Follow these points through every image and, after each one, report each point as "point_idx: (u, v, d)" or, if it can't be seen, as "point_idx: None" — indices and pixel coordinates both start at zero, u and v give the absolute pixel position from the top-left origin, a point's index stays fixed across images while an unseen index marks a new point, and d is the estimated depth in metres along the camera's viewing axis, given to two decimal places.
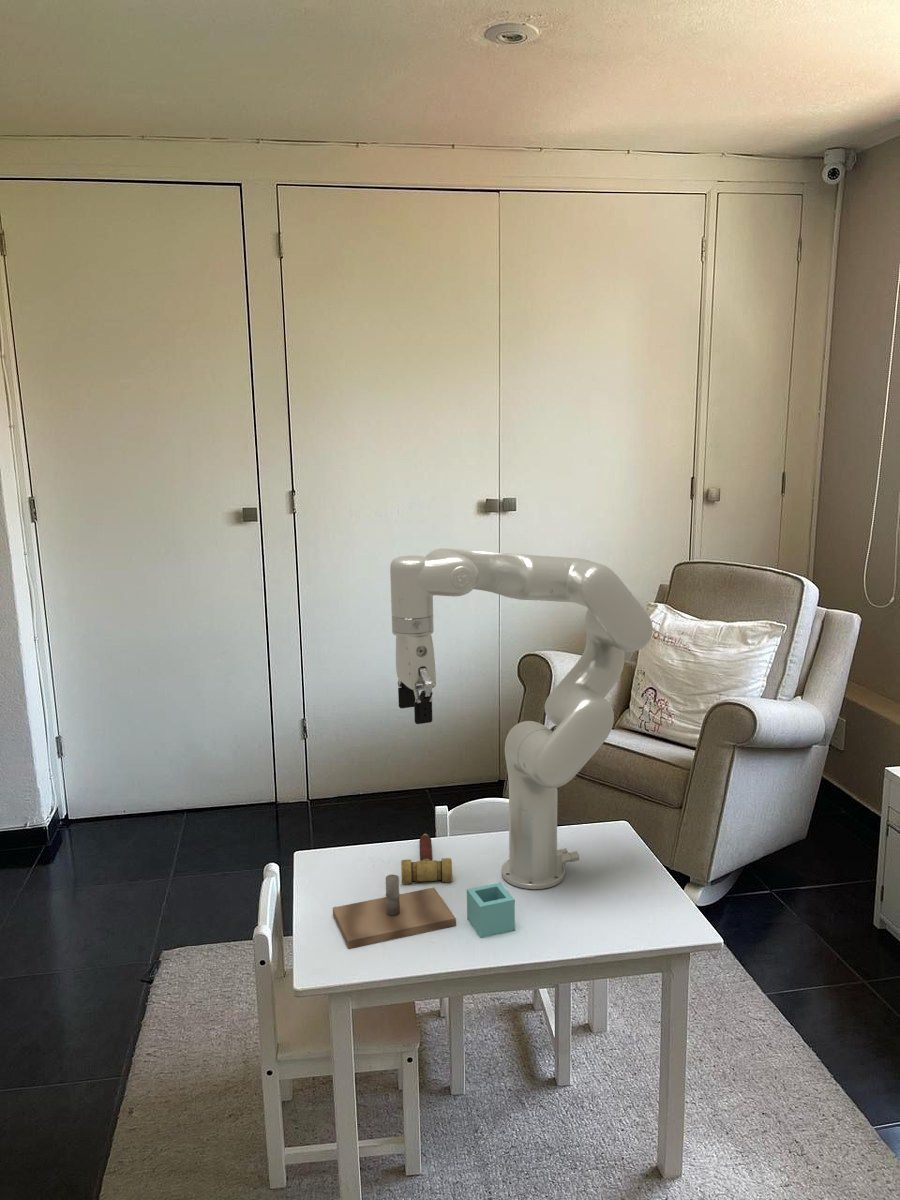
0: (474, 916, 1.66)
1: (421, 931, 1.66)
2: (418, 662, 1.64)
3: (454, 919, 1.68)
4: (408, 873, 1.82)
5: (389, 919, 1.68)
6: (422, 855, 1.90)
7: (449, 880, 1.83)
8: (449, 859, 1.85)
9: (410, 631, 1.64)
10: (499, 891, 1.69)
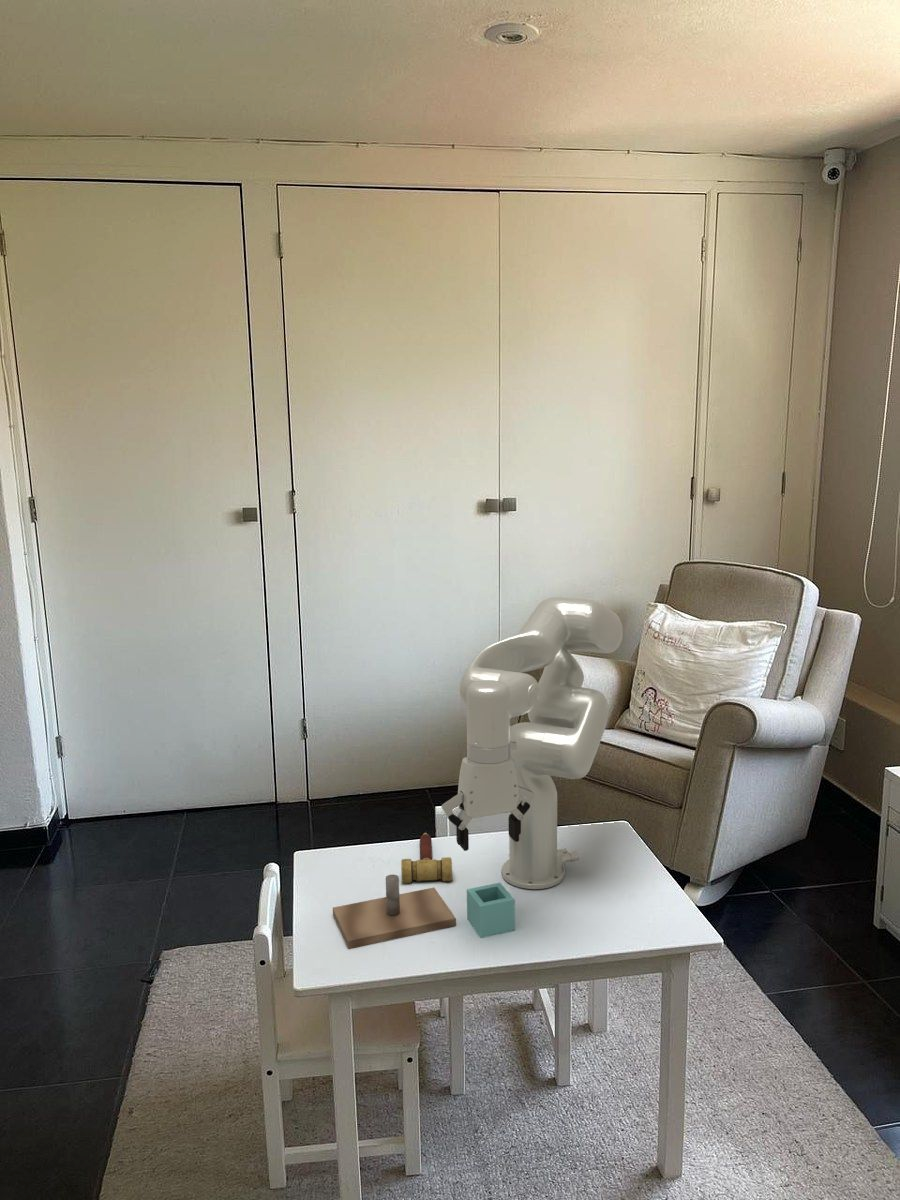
0: (474, 916, 1.66)
1: (421, 931, 1.66)
2: None
3: (454, 919, 1.68)
4: (408, 872, 1.83)
5: (389, 919, 1.68)
6: (422, 854, 1.90)
7: (449, 879, 1.84)
8: (449, 858, 1.85)
9: (510, 754, 1.61)
10: (499, 891, 1.69)
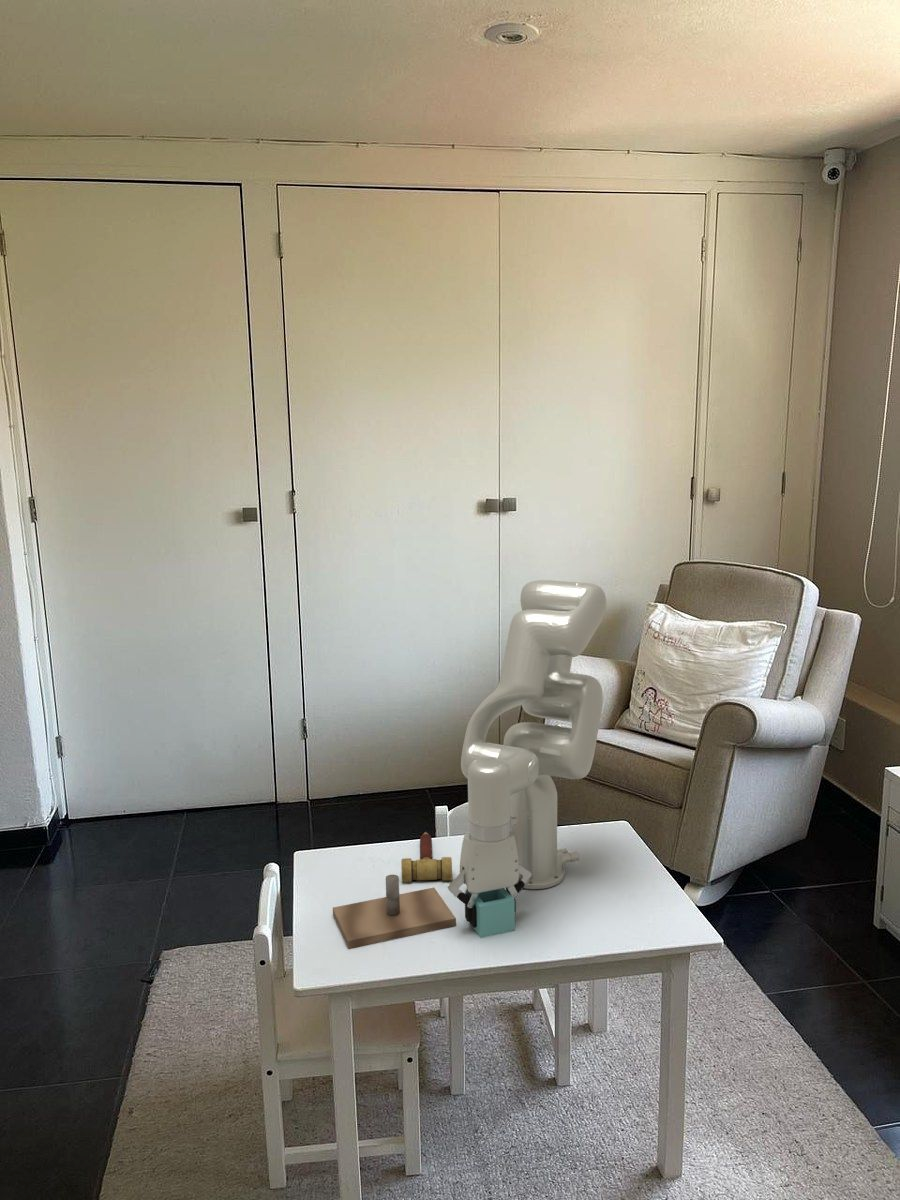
0: None
1: (421, 931, 1.66)
2: None
3: (454, 919, 1.68)
4: (408, 871, 1.83)
5: (389, 919, 1.68)
6: (422, 854, 1.90)
7: (449, 879, 1.84)
8: (449, 858, 1.85)
9: (510, 830, 1.64)
10: (499, 891, 1.69)
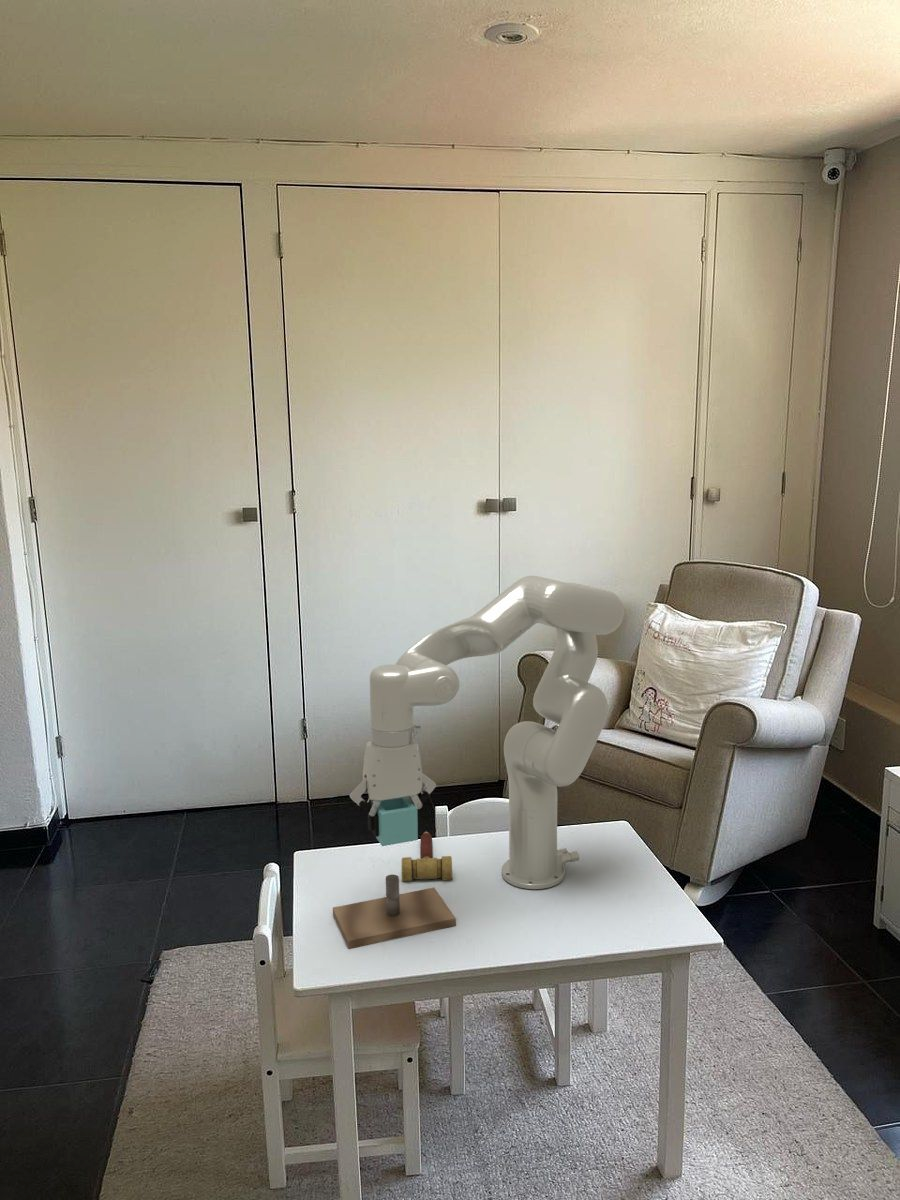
0: None
1: (421, 931, 1.66)
2: None
3: (454, 919, 1.68)
4: (408, 870, 1.83)
5: (389, 919, 1.68)
6: (423, 853, 1.91)
7: (449, 878, 1.84)
8: (449, 857, 1.85)
9: (413, 737, 1.63)
10: (403, 802, 1.67)
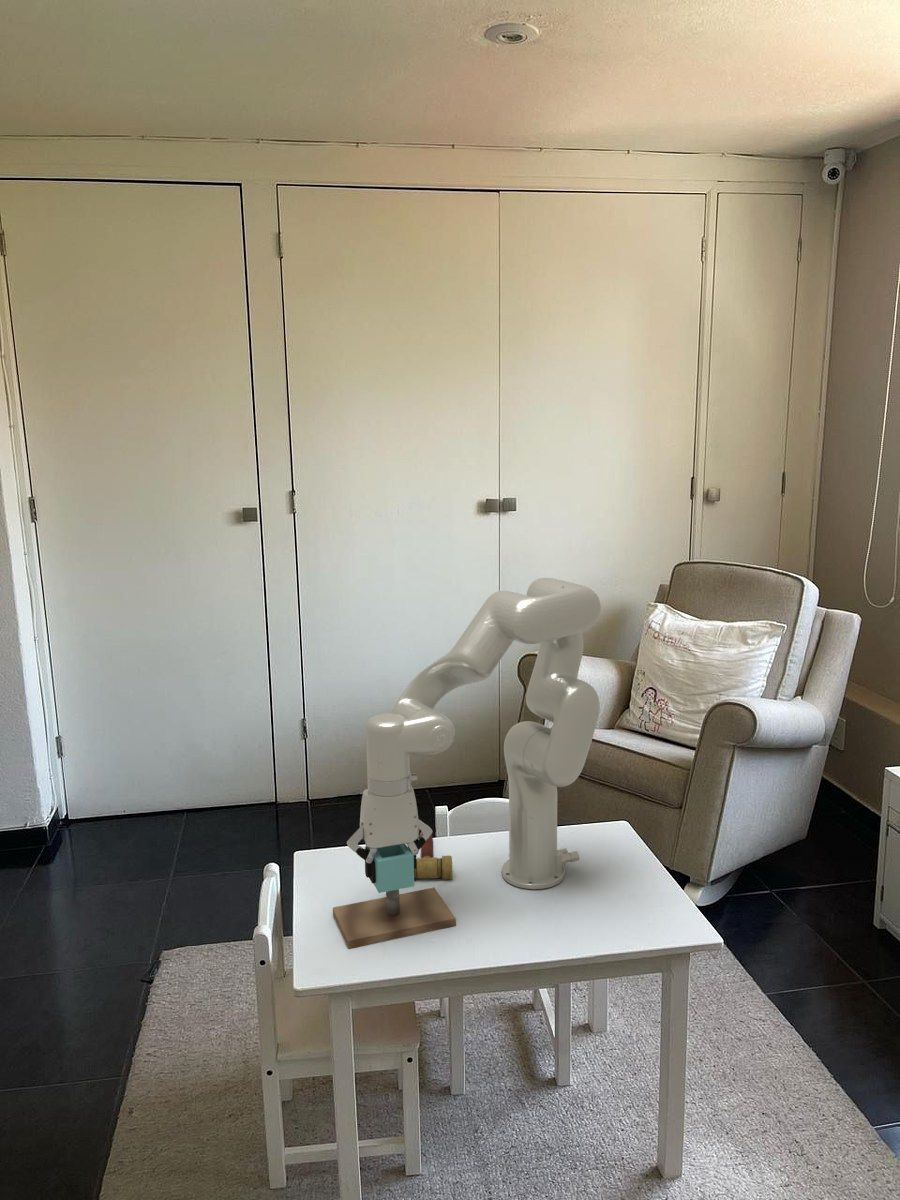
0: None
1: (421, 931, 1.66)
2: None
3: (454, 919, 1.68)
4: None
5: (389, 919, 1.68)
6: (423, 852, 1.91)
7: (449, 877, 1.84)
8: (449, 856, 1.86)
9: (409, 786, 1.65)
10: (400, 848, 1.69)
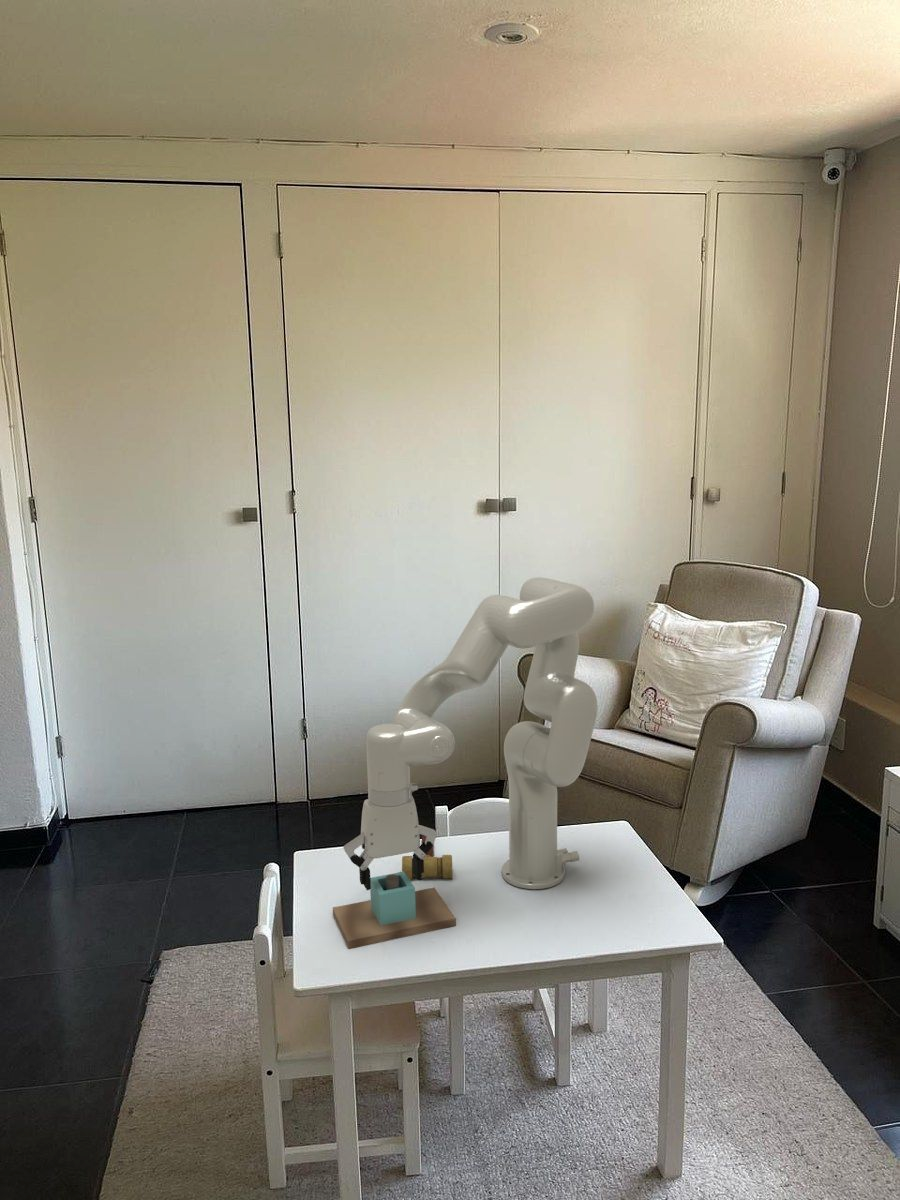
0: (375, 904, 1.68)
1: (421, 931, 1.66)
2: None
3: (454, 919, 1.68)
4: (409, 869, 1.84)
5: None
6: None
7: (449, 876, 1.85)
8: (449, 856, 1.86)
9: (410, 795, 1.65)
10: (402, 880, 1.71)
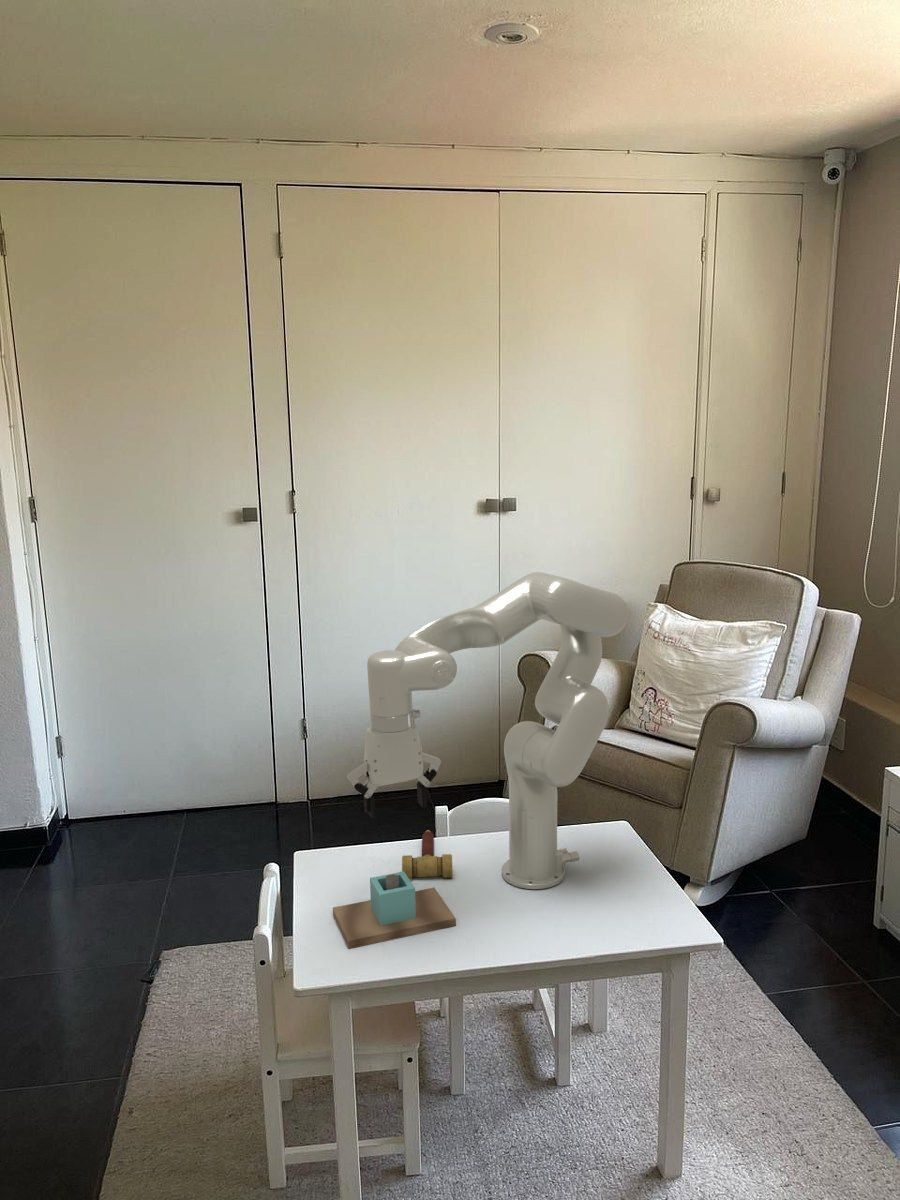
0: (375, 904, 1.68)
1: (421, 931, 1.66)
2: None
3: (454, 919, 1.68)
4: (409, 868, 1.84)
5: None
6: (423, 851, 1.92)
7: (449, 876, 1.85)
8: (449, 855, 1.86)
9: (413, 722, 1.64)
10: (402, 880, 1.71)
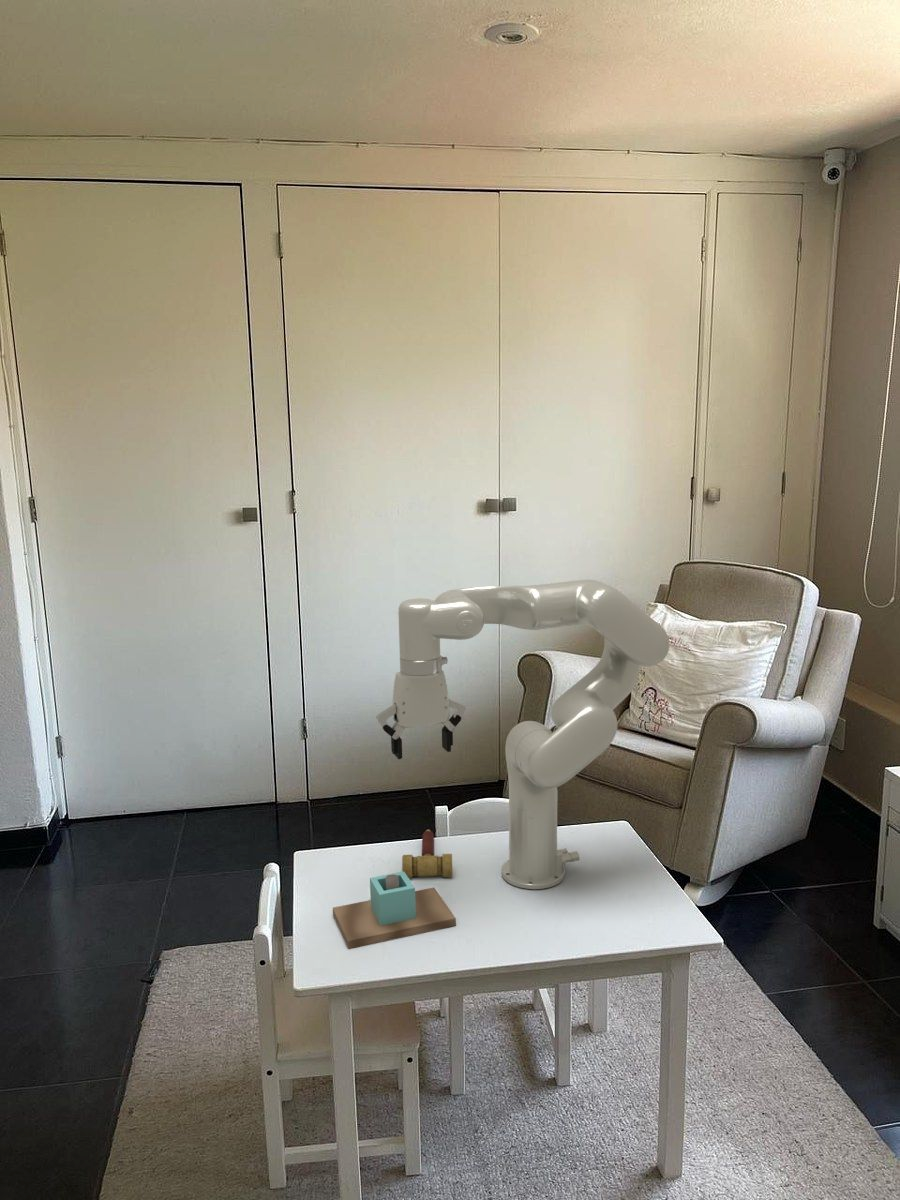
0: (375, 904, 1.68)
1: (421, 931, 1.66)
2: None
3: (454, 919, 1.68)
4: (409, 868, 1.84)
5: None
6: (424, 850, 1.92)
7: (449, 875, 1.85)
8: (450, 854, 1.86)
9: (440, 667, 1.72)
10: (402, 880, 1.71)
